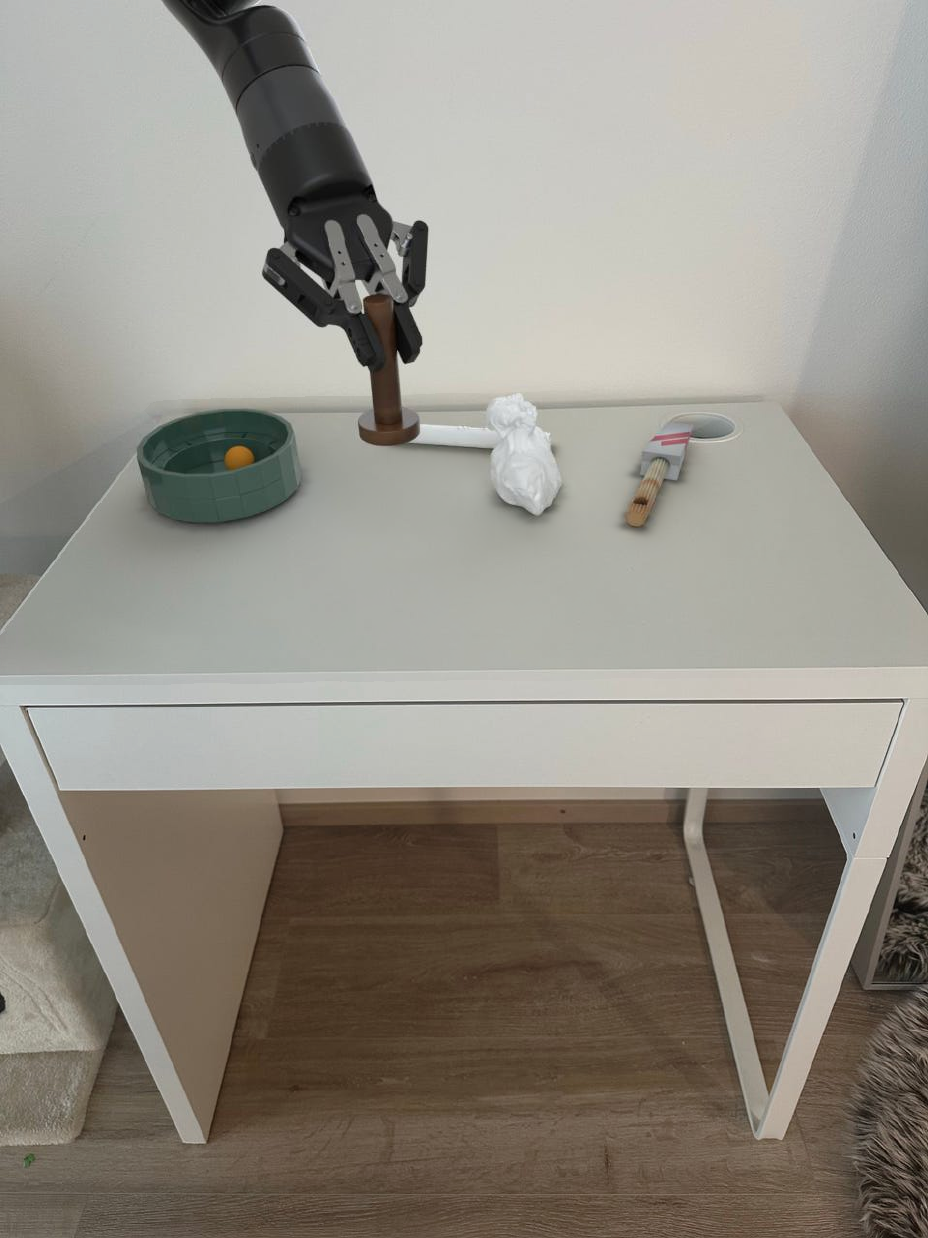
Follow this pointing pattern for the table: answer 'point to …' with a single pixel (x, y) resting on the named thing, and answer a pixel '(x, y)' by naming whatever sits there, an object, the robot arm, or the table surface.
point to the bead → (238, 458)
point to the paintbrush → (659, 467)
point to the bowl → (218, 465)
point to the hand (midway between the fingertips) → (396, 361)
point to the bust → (521, 455)
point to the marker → (459, 436)
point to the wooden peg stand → (386, 384)
